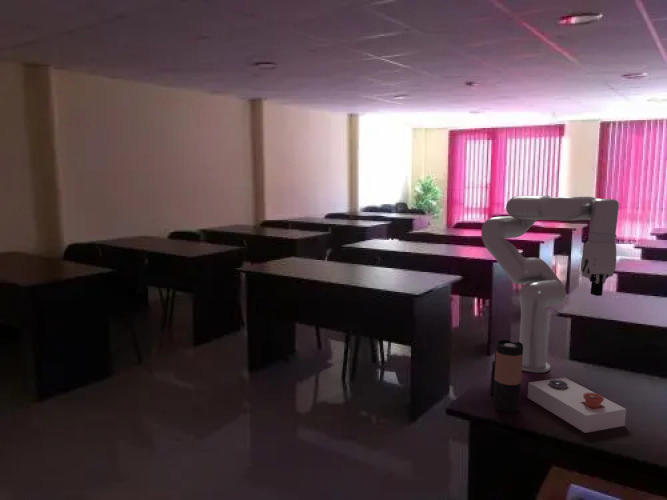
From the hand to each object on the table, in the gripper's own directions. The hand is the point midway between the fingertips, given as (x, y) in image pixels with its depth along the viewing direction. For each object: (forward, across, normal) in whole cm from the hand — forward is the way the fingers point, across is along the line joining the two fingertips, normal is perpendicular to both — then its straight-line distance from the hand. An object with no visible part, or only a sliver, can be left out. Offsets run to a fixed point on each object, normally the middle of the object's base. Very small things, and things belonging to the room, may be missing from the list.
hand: (596, 294), depth 173 cm
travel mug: (+32, +34, +5) cm, 47 cm away
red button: (+29, +16, +19) cm, 38 cm away
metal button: (+30, +17, +5) cm, 35 cm away
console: (+32, +16, +12) cm, 38 cm away
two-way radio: (+32, +31, -5) cm, 45 cm away
